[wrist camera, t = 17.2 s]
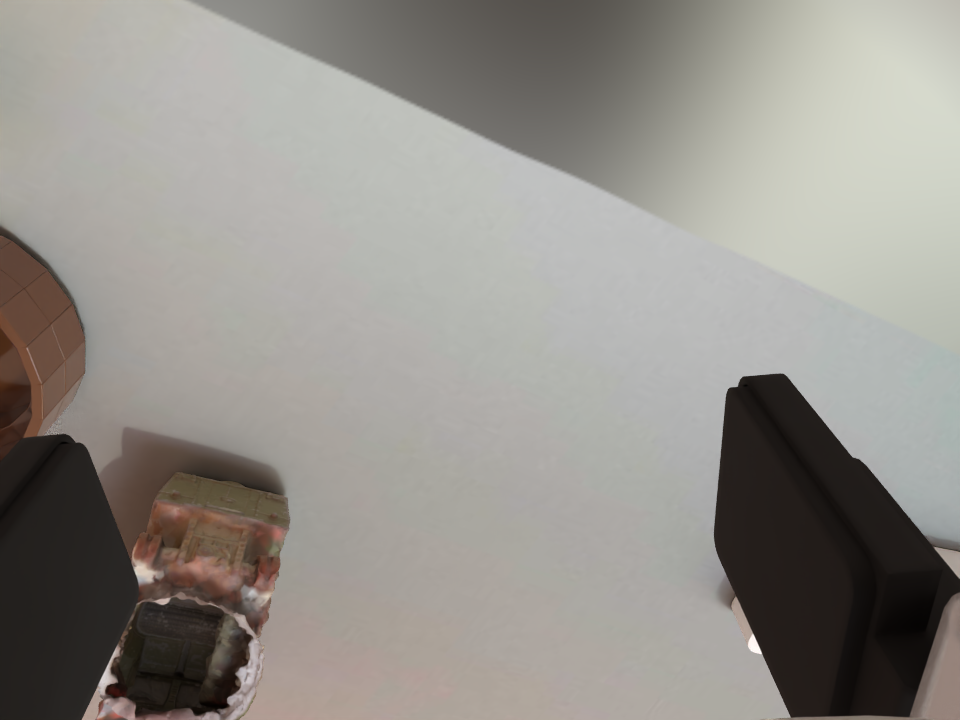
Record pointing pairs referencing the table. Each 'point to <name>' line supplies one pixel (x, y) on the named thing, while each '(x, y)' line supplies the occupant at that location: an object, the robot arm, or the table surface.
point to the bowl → (34, 348)
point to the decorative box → (198, 604)
